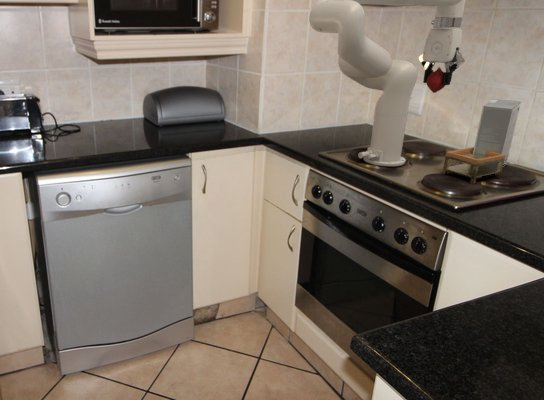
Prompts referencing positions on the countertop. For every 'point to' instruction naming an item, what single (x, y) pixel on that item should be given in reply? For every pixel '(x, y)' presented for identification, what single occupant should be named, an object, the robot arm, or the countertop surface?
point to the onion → (435, 80)
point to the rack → (473, 163)
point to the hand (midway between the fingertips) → (436, 83)
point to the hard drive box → (496, 128)
